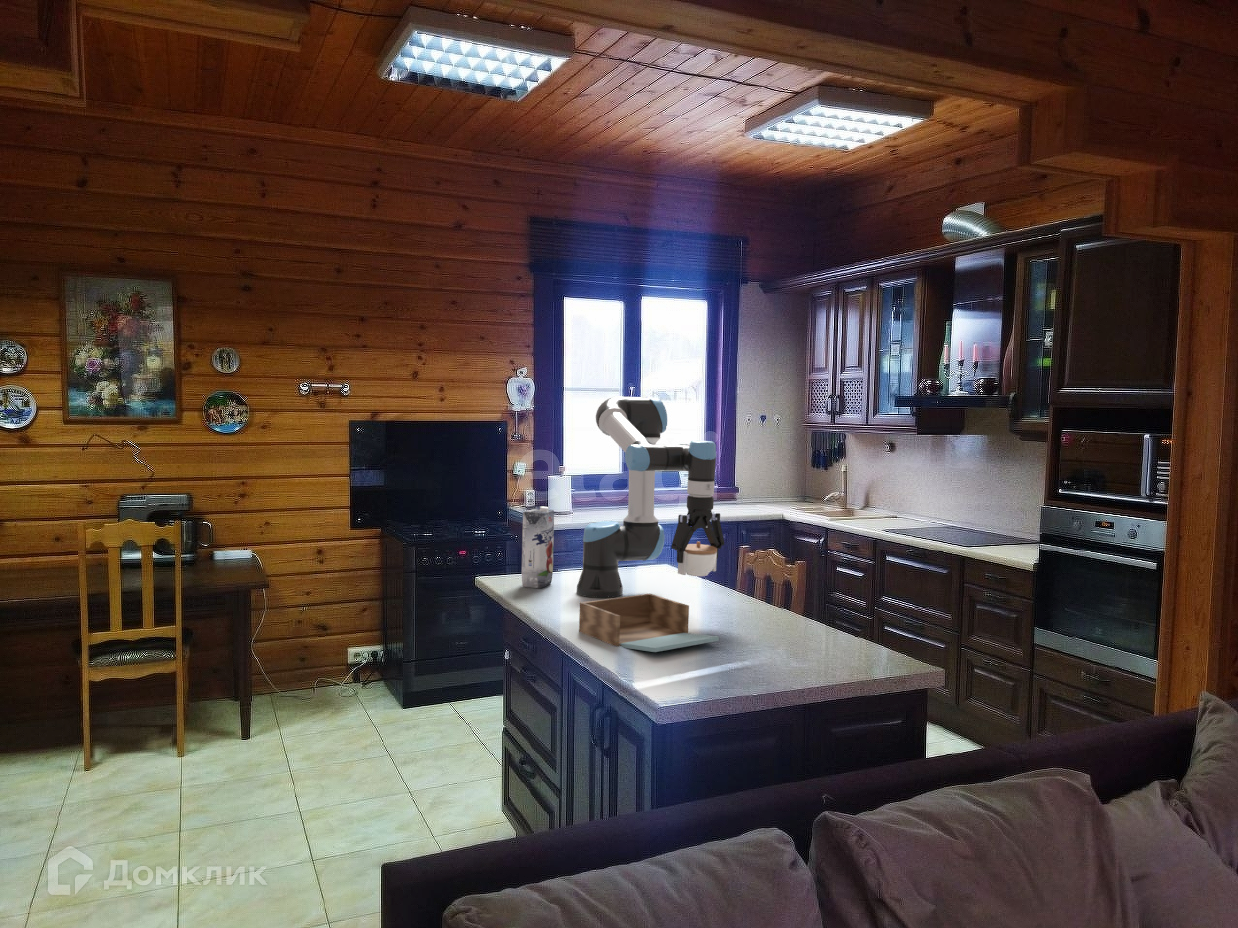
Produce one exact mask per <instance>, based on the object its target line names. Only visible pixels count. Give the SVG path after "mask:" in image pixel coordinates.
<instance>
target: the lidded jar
mask: <svg viewBox="0 0 1238 928" xmlns="http://www.w3.org/2000/svg"><path fill="white" fill-rule="evenodd" d="M685 552H687V562H686V576H687V575H688V576H692V577H706V576H708V575H709V574H710V573H711V572H712V571H711V570H712V569H713V568H714V565H715V562H716V563H717V561H716V554H717V548H716V547H714V546H711V544H702V543H701V541H696V543H688V545H687V547H686V549H685Z"/></svg>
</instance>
